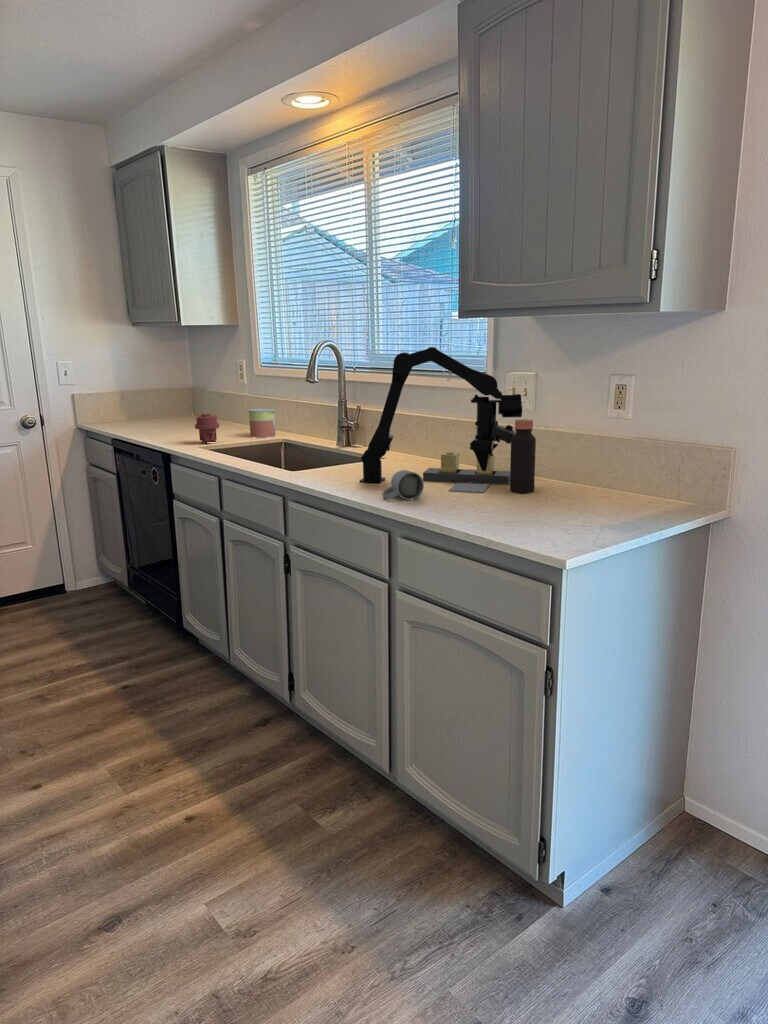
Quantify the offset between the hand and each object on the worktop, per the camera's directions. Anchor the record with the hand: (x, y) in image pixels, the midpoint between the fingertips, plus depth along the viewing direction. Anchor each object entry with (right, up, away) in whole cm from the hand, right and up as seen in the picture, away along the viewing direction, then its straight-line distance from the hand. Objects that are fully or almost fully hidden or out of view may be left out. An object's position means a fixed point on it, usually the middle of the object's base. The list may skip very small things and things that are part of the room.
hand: (485, 469), depth 214 cm
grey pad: (-6, -6, -9) cm, 13 cm away
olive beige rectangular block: (0, -3, +1) cm, 4 cm away
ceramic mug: (-26, -9, -19) cm, 33 cm away
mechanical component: (-105, +16, +87) cm, 138 cm away
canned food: (-85, +21, +104) cm, 136 cm away
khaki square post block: (-10, -3, +4) cm, 12 cm away
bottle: (+8, -7, -14) cm, 18 cm away
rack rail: (-5, -3, +3) cm, 7 cm away
